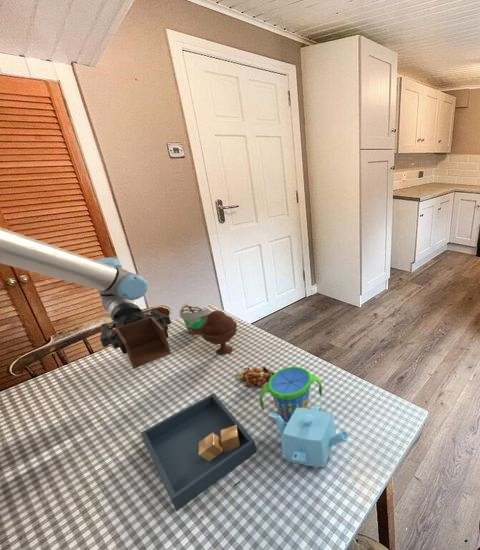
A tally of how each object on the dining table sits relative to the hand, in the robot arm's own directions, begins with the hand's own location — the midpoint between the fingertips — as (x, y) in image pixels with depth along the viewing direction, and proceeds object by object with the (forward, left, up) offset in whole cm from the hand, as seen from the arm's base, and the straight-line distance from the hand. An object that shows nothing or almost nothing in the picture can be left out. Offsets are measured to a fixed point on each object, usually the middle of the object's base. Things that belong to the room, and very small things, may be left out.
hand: (145, 341), depth 81 cm
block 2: (+35, +5, -14) cm, 38 cm away
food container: (-24, +18, -17) cm, 34 cm away
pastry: (+16, +20, -17) cm, 31 cm away
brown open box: (-4, 0, -6) cm, 7 cm away
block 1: (+33, +3, -13) cm, 35 cm away
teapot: (+48, +16, -17) cm, 53 cm away
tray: (+28, 0, -16) cm, 33 cm away
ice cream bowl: (-4, +20, -17) cm, 26 cm away
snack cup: (+35, +21, -17) cm, 44 cm away
